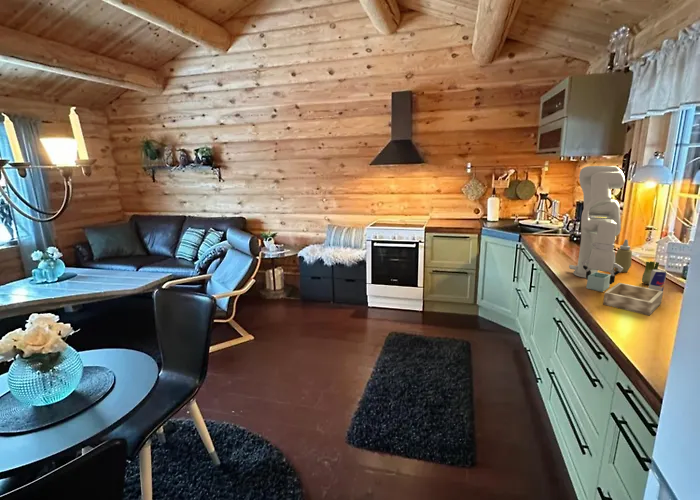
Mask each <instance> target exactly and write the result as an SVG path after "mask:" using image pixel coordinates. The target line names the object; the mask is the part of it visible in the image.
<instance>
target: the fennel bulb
mask: <svg viewBox="0 0 700 500" xmlns="http://www.w3.org/2000/svg"><path fill="white" fill-rule="evenodd" d="M659 264H660V262H659V261H656V262H655V261H645V267H644V270H643V271H644V272H643V274H642V278H641V283H643V284H644V285H648V286H649V282H650V277H651V271H652V270H653V269H659Z"/></svg>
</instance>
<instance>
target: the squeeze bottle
mask: <svg viewBox="0 0 700 500" xmlns="http://www.w3.org/2000/svg"><path fill="white" fill-rule="evenodd" d="M632 253H633V252H632V250H631V246H630V245H629V240H628V239H624V242H623V243H622V244H621V245H619V248H618V249H617V251H616V253H615V263H616V264H618V265H619V266H621V267H623V270H622V271H621V272H620V273H627V272H629V270H630V268H631V267H632V256H633V255H632ZM614 271H615V272H617V271H618V268H616V267H615V268H614Z"/></svg>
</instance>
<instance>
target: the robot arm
mask: <svg viewBox="0 0 700 500" xmlns="http://www.w3.org/2000/svg"><path fill="white" fill-rule="evenodd" d="M625 182H626V179H625V174H624V173H623V170H622V169H620V168H619V167H618V166H616V165H588V166H585V167H582V168H581V169H580V171H579V184H580V185H579V186H580V188H581V190H582V193H583V194H582V195H583V210H582V213H581V218H580V219H581V221H580V222H581V223H580V233H581V234H580V243H579V244H580V245H579V253H578V259H577V260H578V261H577V265H573V264H569V266H568V268H569V269H570V270H573V275H574V276H576V277H579V278H584V279H586V280H588V275H590V274H592V273H594V272H599V271H601V272H605V273H607V272H608V273H610V275H611V276H610V281H609V284H610V285H612V284H613V283H615V279H616V276H617V275H619V274H621V273H622V272H621V271H622V270H623V267H621V266H619V265H618V264H616V263H615V257H616V250H614V249H615V241H616V237H617V236H618V235H620V233H621V230H622V229H621V227H622V222H621V221H622V220H621V207H620V203H619V202H618V200H616V199H612V189H615V190H616V189H617V190H618V189H622V188H623V187H624V185H625ZM615 267H616V268H618V271H616V270H615Z"/></svg>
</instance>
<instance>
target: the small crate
mask: <svg viewBox="0 0 700 500" xmlns="http://www.w3.org/2000/svg"><path fill="white" fill-rule="evenodd" d="M610 276H611V274H609V273H603V272H599V271H598V272H594V273H592V274H590V275H588V280H587V279H586V280H587V281H586V287H585V288H586V289H588V290H591V291H596V292H601V293H604V292H606V291H607V290H609V289H610V285H611V284H609V281H610Z"/></svg>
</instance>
